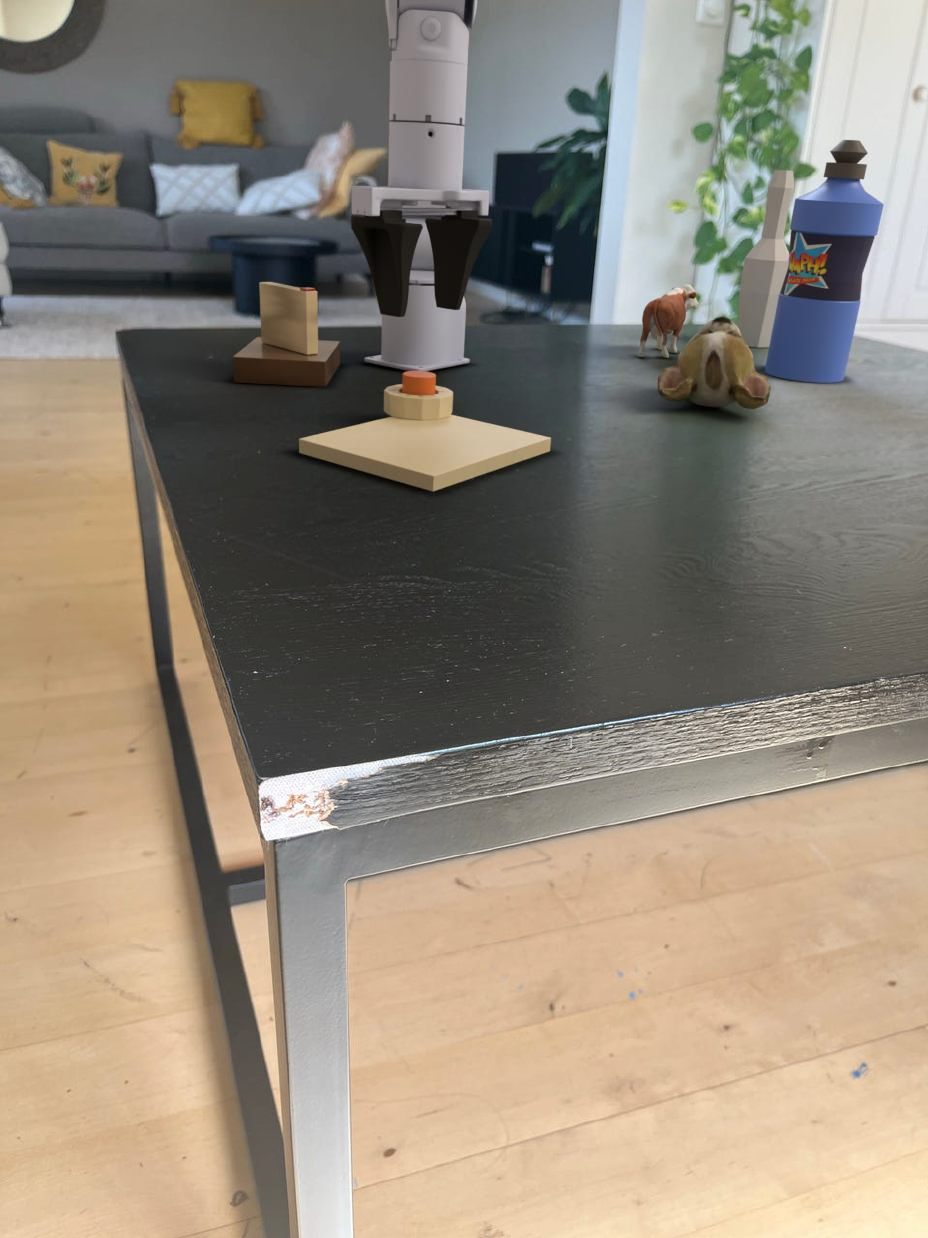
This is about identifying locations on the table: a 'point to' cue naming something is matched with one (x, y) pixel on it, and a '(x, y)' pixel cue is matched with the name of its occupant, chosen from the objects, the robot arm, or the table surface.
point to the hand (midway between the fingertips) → (421, 311)
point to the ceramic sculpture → (715, 370)
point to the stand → (286, 364)
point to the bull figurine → (667, 318)
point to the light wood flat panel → (289, 317)
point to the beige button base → (424, 443)
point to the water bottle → (825, 273)
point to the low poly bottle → (766, 266)
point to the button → (418, 383)
